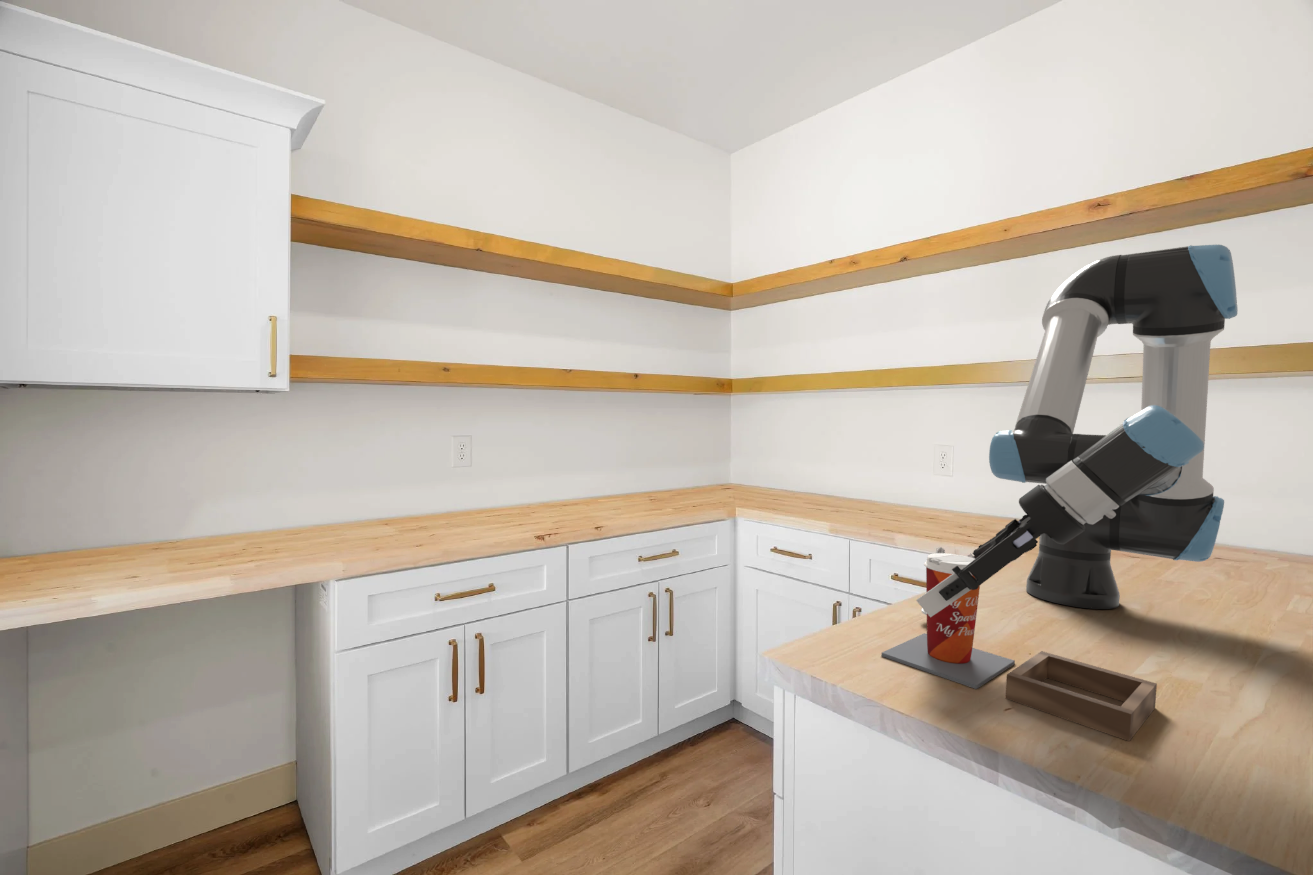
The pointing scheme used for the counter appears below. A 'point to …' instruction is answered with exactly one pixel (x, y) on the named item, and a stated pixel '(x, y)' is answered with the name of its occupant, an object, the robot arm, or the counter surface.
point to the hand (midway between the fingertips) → (933, 596)
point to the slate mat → (967, 674)
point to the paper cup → (950, 613)
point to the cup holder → (1080, 708)
